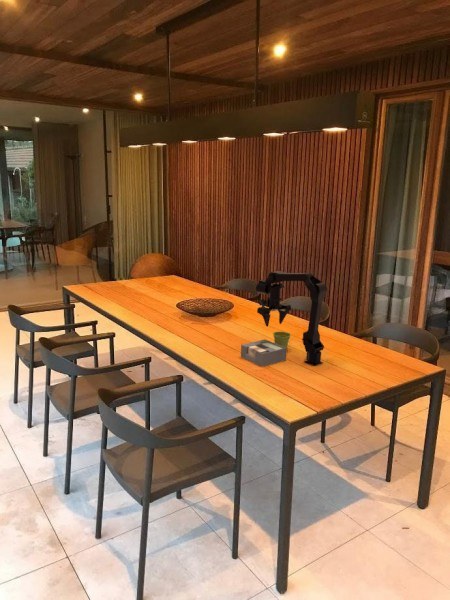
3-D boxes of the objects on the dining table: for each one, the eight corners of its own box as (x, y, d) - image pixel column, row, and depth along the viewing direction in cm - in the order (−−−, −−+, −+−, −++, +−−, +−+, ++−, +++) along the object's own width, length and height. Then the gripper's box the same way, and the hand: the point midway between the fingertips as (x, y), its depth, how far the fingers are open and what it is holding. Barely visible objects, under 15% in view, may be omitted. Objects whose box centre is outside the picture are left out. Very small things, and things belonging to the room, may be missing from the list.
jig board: (286, 360, 239) (286, 347, 237) (261, 366, 229) (262, 353, 228) (264, 351, 251) (265, 339, 249) (240, 357, 241) (241, 344, 240)
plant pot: (292, 349, 256) (293, 333, 254) (285, 354, 248) (286, 338, 246) (276, 345, 260) (277, 330, 258) (269, 350, 252) (270, 334, 250)
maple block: (266, 357, 233) (266, 350, 232) (260, 358, 231) (260, 352, 230) (254, 352, 240) (254, 345, 239) (248, 353, 238) (248, 346, 237)
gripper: (277, 291, 257) (276, 319, 261) (250, 294, 247) (249, 324, 250) (292, 294, 248) (290, 323, 252) (264, 298, 238) (263, 329, 241)
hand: (273, 325), depth 249 cm, fingers open, 9 cm apart
